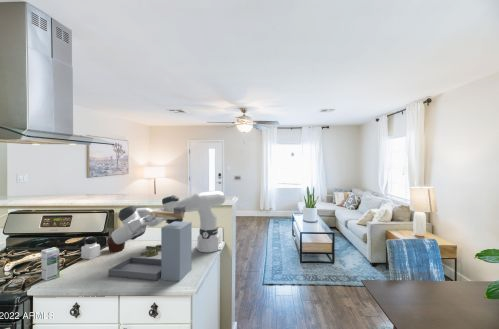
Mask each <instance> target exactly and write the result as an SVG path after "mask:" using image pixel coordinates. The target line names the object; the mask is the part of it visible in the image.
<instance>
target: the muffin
mask: <svg viewBox="0 0 499 329" xmlns="http://www.w3.org/2000/svg"><path fill="white" fill-rule="evenodd" d="M106 243H107V247H108V251H109V252H110V253H118V252H122V251H124V250H125V246H126V242H124V243H121V244H116V243H115V242H114V241H113V239H112V237H111V236H110V237H109V238H108V239H107V240H106ZM123 249H124V250H123Z"/></svg>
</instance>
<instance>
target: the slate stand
mask: <svg viewBox="0 0 499 329" xmlns="http://www.w3.org/2000/svg"><path fill="white" fill-rule="evenodd" d="M192 228H193V227H192V221H182V222H177V221H174V222H172V223H170V224H168V223H167V224H166V225H164V226H163V227H161V229H160V230H161V231H160V232H161V238H160V239H161V240H160V243H161V244H160V245H161V251H160V253H161V254H160V256H161V257H160V259H161V278H160V279H161V280H163V281H164V280H165V281H172V282H181V281H183V279H184V278H185V277H186V275H187V274H188V273H190V272H191V271H192V240H193V239H192V232H193V230H192ZM187 276H188V275H187Z"/></svg>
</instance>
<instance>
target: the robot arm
mask: <svg viewBox="0 0 499 329" xmlns="http://www.w3.org/2000/svg"><path fill="white" fill-rule="evenodd" d="M225 200H226V196H225V194H224V192H223V191H221V190H208V191H200V192H196V193H194V194H193V195H190V196H188V197H187V196H186V197H185V198H183V199H180V197H178V196H177V195H174V194H168V195H166V196H164V198H162V201H161V203H162V208H159V207H156V208H151V207H148V206H146V205H145V206H144V205H142V206H134V205H128V206H125V207H123V208H122V209H120V210H119V212H118V215H117V218H118V219H119V220H120V221H121V223H122V224H121V225H120V226H119V227H117V228H116V229H115V230H113V231H112V233H111V235H110V237H112V239H113V241H114V242H115V243H116V244H121V243H124V242H125V243H126V242H128V241H132V240H133V241H134V240H136V239H138V238H139V237H142V235H144V234H145V232H146V230H147V227H150V228H151V227H153V228H154V227H157V226H159V225H160V224H161V223H163V222H165V224H167V225H168V224H170V223H172V222H174V221H177V222H184V218H182V219H180V218H161V217H156V216H157V215H156V213H155V214H152V215H150V212H152V211H162V212H174V208H175V207H178V206H183V207H185V213H190V212H197V213H198V215H199V226H200V227H199V231H198V232H199V235H197V240H196V241H197V242H196V243H197V244H196V246H195V247H194V248H195V249H196V250H197V251H199V252H202V253H214V252H218V251H222V250H223V247H224V244H225V242H224V241H223V240H221V235H220V234H219V232H218V231H219V226H218V225H217V224H218V218H217V215H216V214H215V213H213V212H212V208H215V207H220V206H222V205H223V204H224V203H225Z"/></svg>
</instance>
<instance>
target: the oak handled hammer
mask: <svg viewBox="0 0 499 329" xmlns="http://www.w3.org/2000/svg"><path fill="white" fill-rule="evenodd" d="M155 213H156V215H157V216H156V217H161V218H180V219H182V218H183V219H184V218H185V213H186V212H185V207H183V206H178V207H175V208H174V212H162V211H152V212H150V215H152V214H155Z"/></svg>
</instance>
